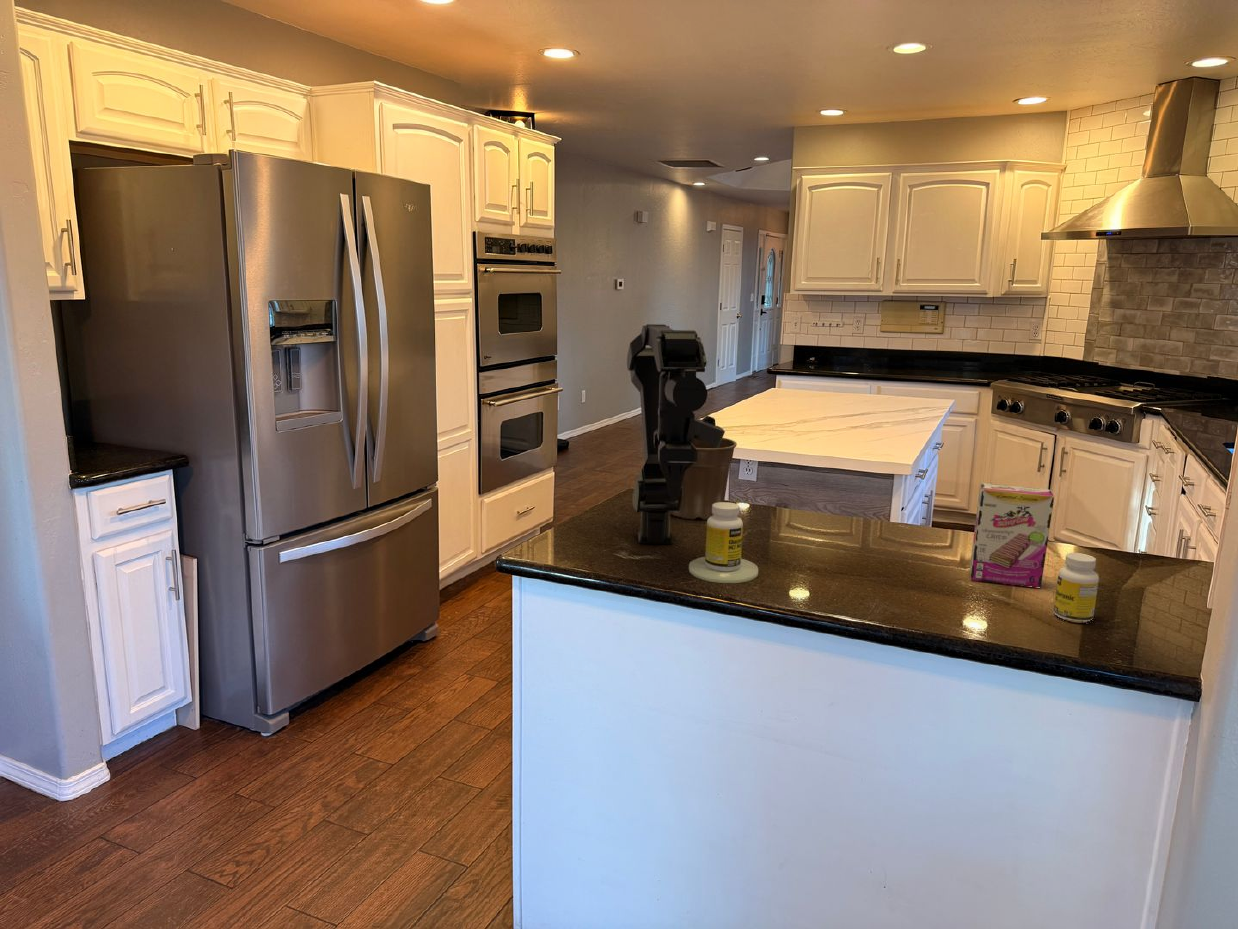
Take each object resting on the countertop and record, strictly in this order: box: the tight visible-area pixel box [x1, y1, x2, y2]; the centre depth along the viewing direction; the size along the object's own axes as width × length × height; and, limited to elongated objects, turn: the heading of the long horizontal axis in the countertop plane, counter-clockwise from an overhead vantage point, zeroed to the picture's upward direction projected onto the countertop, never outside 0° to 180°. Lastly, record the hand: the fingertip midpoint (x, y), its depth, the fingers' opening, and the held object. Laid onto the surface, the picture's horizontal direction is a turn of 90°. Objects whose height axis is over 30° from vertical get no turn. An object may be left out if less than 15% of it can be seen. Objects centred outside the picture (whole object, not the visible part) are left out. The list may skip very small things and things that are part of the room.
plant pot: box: [670, 437, 737, 520], centre depth 181 cm, size 16×16×16 cm
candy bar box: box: [969, 482, 1055, 588], centre depth 141 cm, size 11×5×16 cm, turn 71°
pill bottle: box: [704, 501, 744, 572], centre depth 144 cm, size 6×6×11 cm
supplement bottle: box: [1053, 552, 1100, 622], centre depth 126 cm, size 5×5×10 cm
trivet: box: [688, 556, 759, 584], centre depth 145 cm, size 12×12×1 cm
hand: (672, 492), depth 146 cm, fingers open, 9 cm apart
